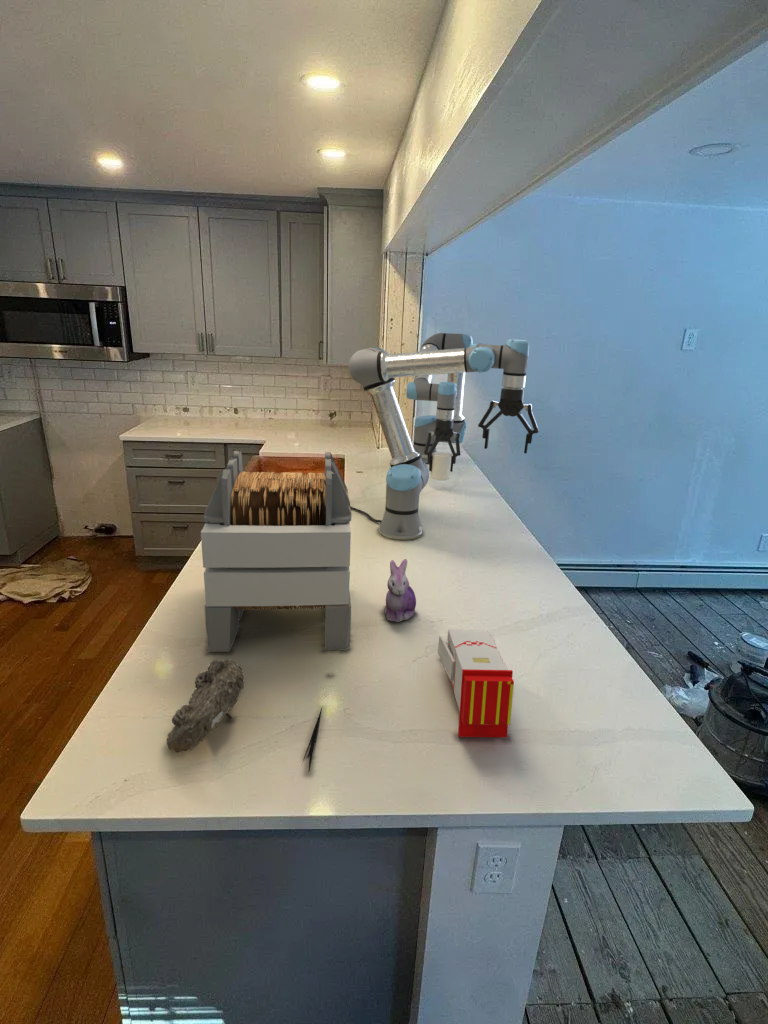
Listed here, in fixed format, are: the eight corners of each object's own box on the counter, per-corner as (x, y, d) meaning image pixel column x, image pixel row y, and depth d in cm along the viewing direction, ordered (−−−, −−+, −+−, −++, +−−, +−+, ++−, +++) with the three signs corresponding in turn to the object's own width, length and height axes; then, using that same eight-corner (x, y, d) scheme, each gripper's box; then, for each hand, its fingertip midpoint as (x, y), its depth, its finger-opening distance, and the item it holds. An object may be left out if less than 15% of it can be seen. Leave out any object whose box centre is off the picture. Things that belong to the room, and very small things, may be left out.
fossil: (192, 660, 117) (244, 628, 112) (224, 691, 120) (276, 661, 115) (142, 746, 98) (202, 712, 93) (182, 779, 101) (242, 748, 96)
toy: (488, 613, 130) (523, 677, 101) (484, 667, 133) (517, 744, 104) (435, 612, 130) (455, 676, 101) (432, 666, 133) (451, 743, 103)
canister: (453, 478, 250) (455, 454, 246) (441, 481, 244) (443, 457, 240) (438, 474, 255) (440, 450, 252) (426, 477, 249) (428, 453, 246)
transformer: (227, 584, 158) (219, 441, 145) (344, 583, 162) (347, 443, 148) (205, 654, 127) (191, 480, 113) (351, 650, 130) (355, 481, 117)
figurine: (392, 627, 141) (395, 572, 136) (374, 608, 149) (376, 556, 144) (425, 619, 145) (429, 566, 140) (405, 601, 154) (408, 550, 149)
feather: (331, 679, 122) (336, 673, 122) (307, 777, 96) (313, 769, 95) (324, 675, 122) (329, 669, 121) (298, 772, 95) (304, 764, 95)
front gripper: (552, 389, 189) (543, 452, 196) (477, 383, 196) (472, 443, 203) (550, 392, 182) (541, 456, 189) (473, 386, 189) (467, 448, 197)
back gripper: (421, 420, 237) (417, 472, 244) (471, 421, 239) (466, 473, 246) (418, 416, 244) (415, 467, 251) (467, 418, 246) (462, 469, 253)
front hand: (505, 450), depth 196 cm, fingers open, 13 cm apart
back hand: (440, 470), depth 249 cm, fingers closed on canister, 8 cm apart
